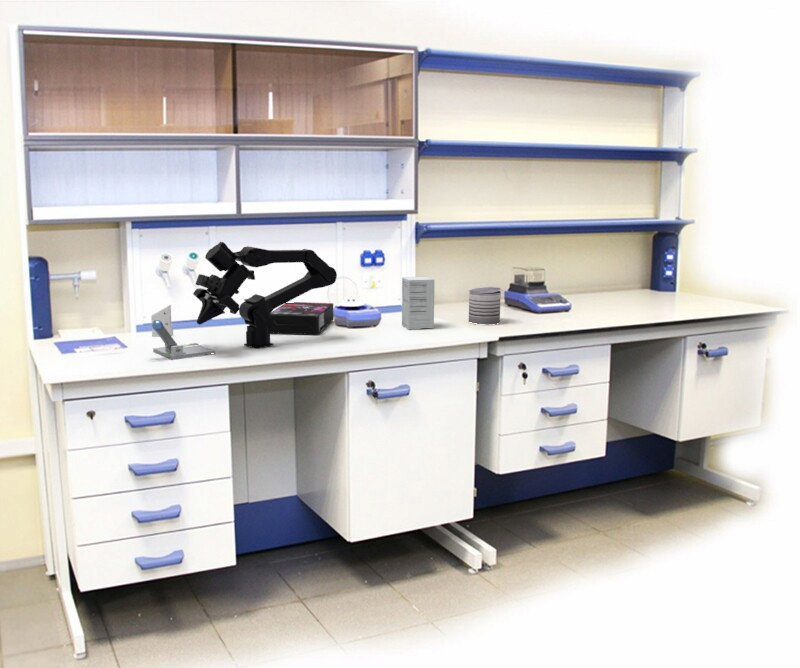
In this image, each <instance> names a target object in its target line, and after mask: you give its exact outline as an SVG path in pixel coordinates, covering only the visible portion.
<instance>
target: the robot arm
mask: <svg viewBox="0 0 800 668" xmlns="http://www.w3.org/2000/svg"><path fill="white" fill-rule="evenodd" d="M204 258H205V259H206V260H207V261H208V262H209V263H210V264H211V265H212V266H213V267H215V269H216V270H217V271H219V272H223V271H224V272H225V273H224V274H223V275H222V277H219V276H217V274H216V275H215V274H210V275H209V276H208V275H204V274H201V273H200V274H198V276H197V279H196V281H195V285H196V286H198V287H199V286H201V287H203V288H196V289H195V290H194V292H193V293H192V295H193V296H194V297H196V299H198V300H199V301H200V302H201V304H202V305H201V308H200V311H199V314H198V317H197V320H196V324H197V325H199V326H200V325H202V324H204V323H206V322H208V321H210V320H213V319H214V318H216V317H218V316H220V315H223V314H224V315H225V313H226V312H225V309H226V308H228V310H229V313H230V314H233V315H236V314H238V313H239V316H240V318H242V319H243V321H244V323H245V325H247V326H246V332H245V343H244V344H243V345H244V346H245V345H246V347H249V346H250V348H253V347H254V349H260V347H262V348H266V347H265V346H267V347H272V346H271V345H273V346H274V343H272V342H271V333H270V327H272V323H273V320H272V319H271V318H270V317H269V315H270V313H271V312H273V311H274V310H276V309H277V308H279V307H280V306H282V305H284V304H285V303H286V302H291V301H293V300H294V299H296V298H298V297H301V296H302V295H303V294H306V293H307V292H310V291H311V290H315V289H316V290H317V289H320V288H326V287H329V286H332V285H334V284H335V283H336V281H337V278H338V277H337V276H338V274H337V270H336V269H335V268H334V267H332V266H329V264H328V263H327V262H326V261H325V260H324V259H322V258H321V257H320V256H319V255H318V254H317V253H316V252H315V251H314V250H313V249H307V248H302V249H264V248H260V247H259V248H258V247H253V246H249V245H248V246H244V247H242V249H240V250H238V251H235V252H234V251H233V250H232V249H230V248H229V247H228V245H227V244H226V243H225V242H223V241H219V242H218V244H215V245H214V246H213V247H211V248H209V250H208V251H207V252H206V254H205V257H204ZM238 262H240V263H241V264H240V263H238ZM278 263H279V264H280V263H281V264H282V263H283V264H285V263H288V264H289V263H294V264H295V263H303V265H304V267H305V269H306V270H307V272H306V274H305V275H304V276H303V277H301V278H299V279H297V280H296V281H294V282H292V283H290V284H287V285H286V286H284V287H282V288H280V289H278V290H276V291H274V292H272V293H270V294H268V295H266V296H263V295H260V294H256V293H255V294H253V295H252V296H251V297H249V298H244V299H243V300H244V302H242V303H240V304H239V303H238V302H237V301H236V300H235V299H233V298H232V297H234V295H238V294H239V293H240V290H239V288H240V287H241V286H242V285H243V284H244V282H245V281H246V280H247V279H248V280H253V281H254V280H256V276H255V270H251V269H249V268H247V267H252V268H260V267H266V266H268V265H271V264H278ZM205 288H206V289H205Z"/></svg>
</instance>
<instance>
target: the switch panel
mask: <svg viewBox="0 0 800 668" xmlns="http://www.w3.org/2000/svg"><path fill="white" fill-rule="evenodd" d="M176 344H177V346H171V351H170V350H169V348H168V347H167V346H166V344H165V343H164V346H162V347H154V348H152V350H153V353H155V354H157V355H160V356H163V357H164V358H167V359H169V358H170V360H172V359H174V360H179V359H178V358H181V359H186V358H185V357H188V358H193V357H192V356H196V357H199V356H198V355H203V356H206V355H205V354H210V355H212V354H211V353H215V354H216V350H214V349H212V348H209V347H206V346H204V345H201V344H199V343H196V342H192V343H185V344H178V343H177V342H176Z"/></svg>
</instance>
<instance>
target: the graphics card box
mask: <svg viewBox="0 0 800 668" xmlns="http://www.w3.org/2000/svg"><path fill="white" fill-rule="evenodd" d="M293 302H294V303H284V304H283V305H281V306H279V307H277V308H275V309H274V310H273V311H272V312H271V313H270V315H269V317H270V318H271V319H272V320H273V323H272V327H270V334H276V333H282V335H283V334H287V335H308V334H313V336H314V335H319V334H320V333H321V332H322V331H323V330H325V328H327V326H328V325H330V324H331V322H333V321H334V320H335V319H334V316H335V315H334V303H332V302H329V303H328V302H303V301H301V302H300V301H299V302H298V301H293Z"/></svg>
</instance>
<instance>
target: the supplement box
mask: <svg viewBox="0 0 800 668" xmlns="http://www.w3.org/2000/svg"><path fill="white" fill-rule="evenodd" d="M402 325H403V326H402ZM401 326H402V327H404V328H405V327H406V329H407V330H408V329H411V330H421V329H420V328H434V329H435V279H434V278H431V277H430V276H429V277H428V276H403V277H402V278H401Z"/></svg>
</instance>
